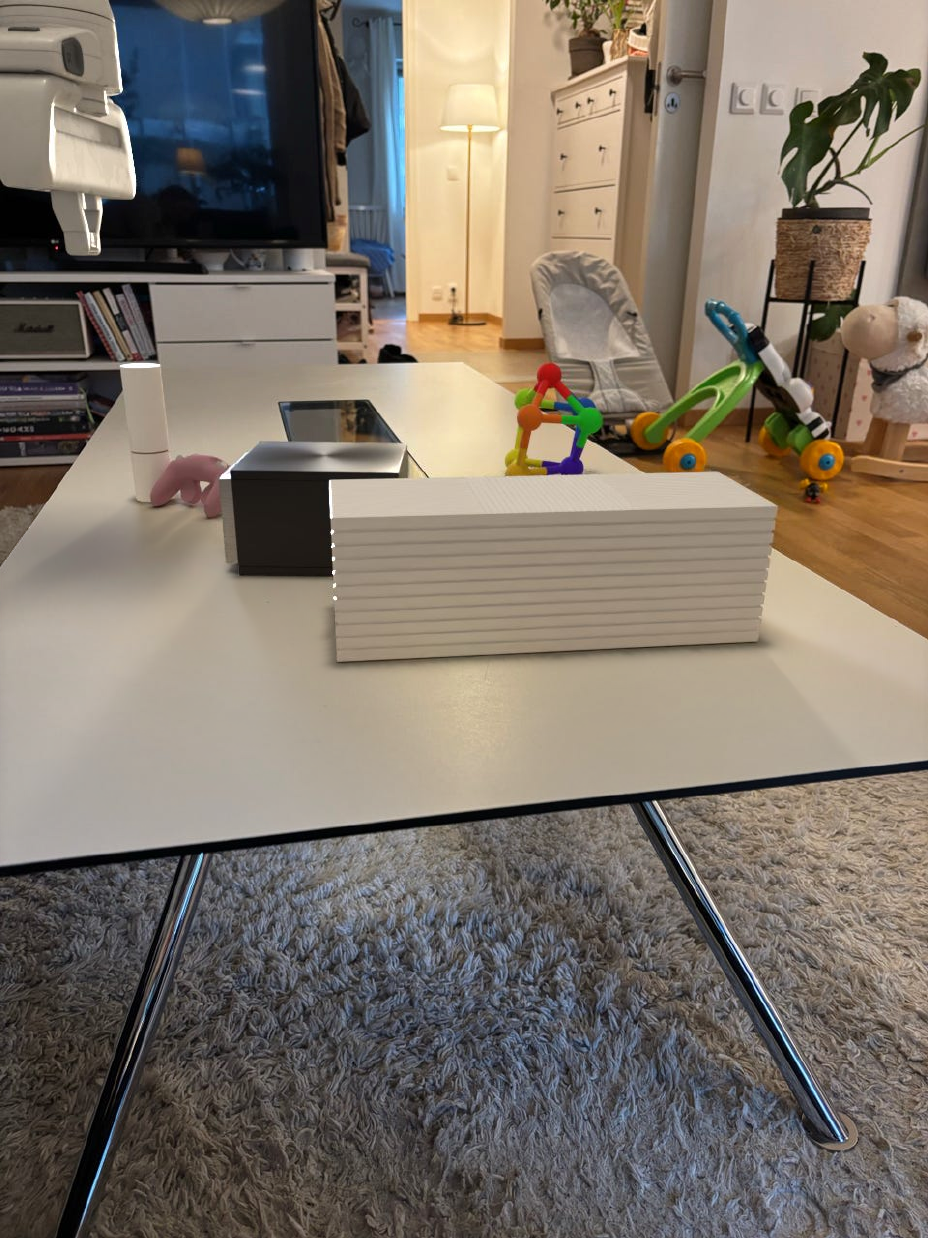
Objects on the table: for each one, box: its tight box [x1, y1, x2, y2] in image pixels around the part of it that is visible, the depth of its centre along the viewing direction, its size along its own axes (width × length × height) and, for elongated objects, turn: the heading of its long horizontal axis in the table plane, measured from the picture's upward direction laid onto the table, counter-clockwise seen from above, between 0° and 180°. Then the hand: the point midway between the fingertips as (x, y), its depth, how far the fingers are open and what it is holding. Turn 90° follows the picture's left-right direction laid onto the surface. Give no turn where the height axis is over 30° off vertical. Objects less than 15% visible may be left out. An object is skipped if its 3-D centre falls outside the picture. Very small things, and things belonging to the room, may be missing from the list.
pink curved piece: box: [150, 453, 233, 519], centre depth 102 cm, size 10×5×7 cm, turn 59°
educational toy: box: [504, 362, 604, 476], centre depth 115 cm, size 16×13×15 cm
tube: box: [119, 362, 176, 503], centre depth 103 cm, size 4×4×15 cm
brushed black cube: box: [230, 440, 408, 577], centre depth 86 cm, size 15×13×10 cm
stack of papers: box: [329, 471, 779, 663], centre depth 70 cm, size 32×11×11 cm, turn 98°
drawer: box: [219, 450, 251, 564], centre depth 86 cm, size 15×11×8 cm
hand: (84, 255), depth 76 cm, fingers closed
